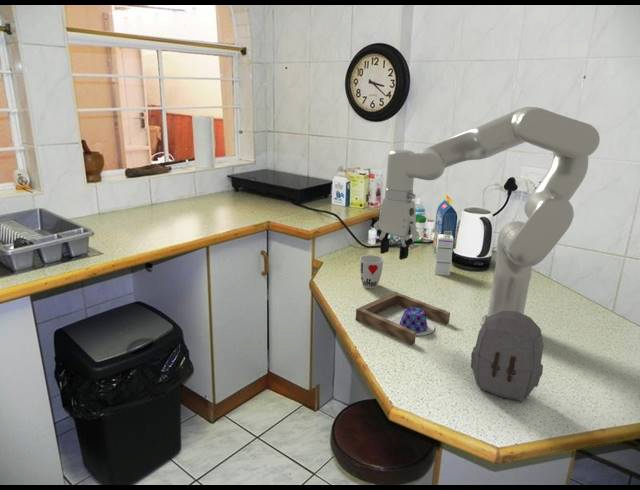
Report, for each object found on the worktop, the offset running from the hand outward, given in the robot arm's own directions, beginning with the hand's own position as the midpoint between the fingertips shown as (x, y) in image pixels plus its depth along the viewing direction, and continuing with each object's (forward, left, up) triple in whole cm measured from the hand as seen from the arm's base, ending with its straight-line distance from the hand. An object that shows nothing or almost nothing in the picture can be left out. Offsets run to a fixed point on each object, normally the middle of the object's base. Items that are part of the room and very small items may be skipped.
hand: (393, 255), depth 136 cm
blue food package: (+21, -65, -20) cm, 71 cm away
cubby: (-5, 0, -20) cm, 20 cm away
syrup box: (+9, -45, -20) cm, 50 cm away
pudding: (-9, 0, -20) cm, 22 cm away
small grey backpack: (-41, +12, -20) cm, 47 cm away
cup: (+19, -14, -20) cm, 31 cm away
